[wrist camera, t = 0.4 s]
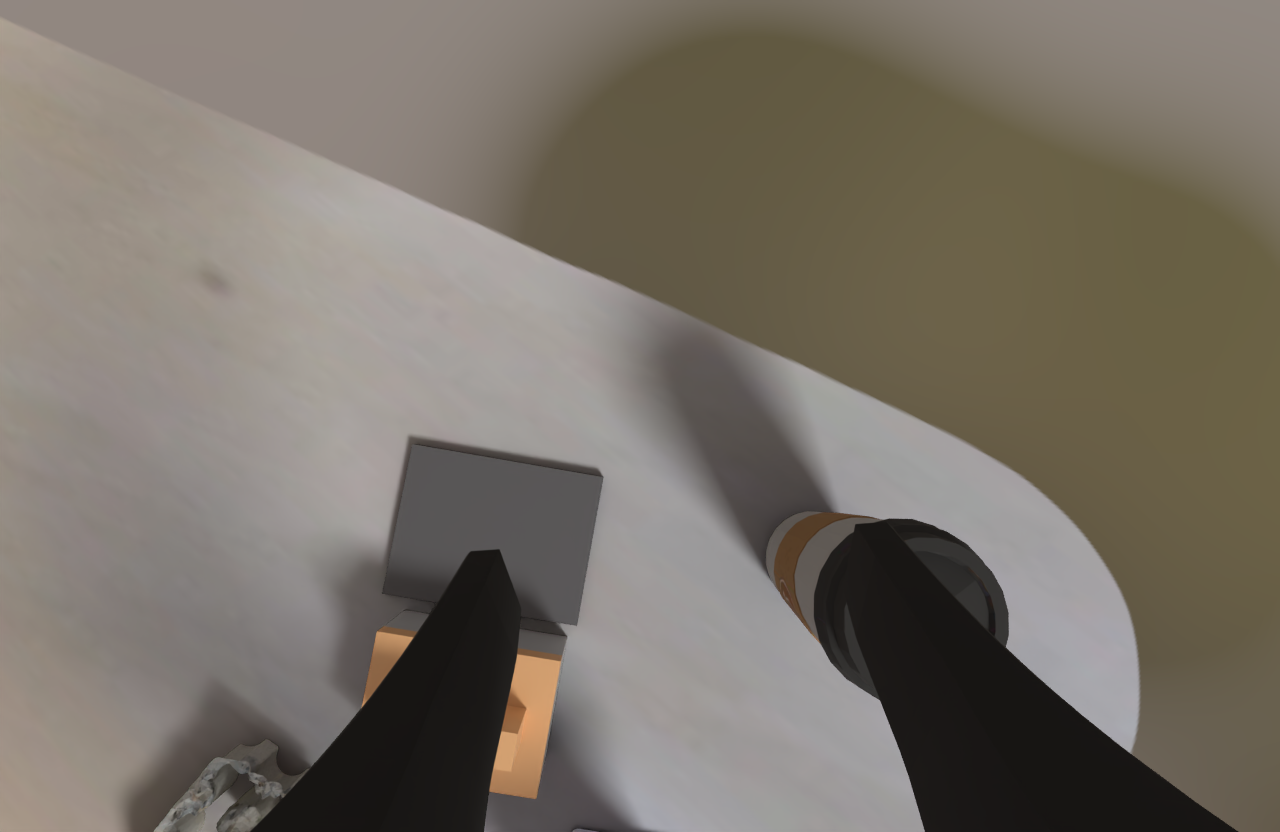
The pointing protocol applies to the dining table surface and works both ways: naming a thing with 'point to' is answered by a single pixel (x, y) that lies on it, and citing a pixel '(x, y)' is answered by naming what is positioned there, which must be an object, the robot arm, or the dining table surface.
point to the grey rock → (219, 775)
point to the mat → (494, 528)
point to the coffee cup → (816, 566)
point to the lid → (523, 713)
